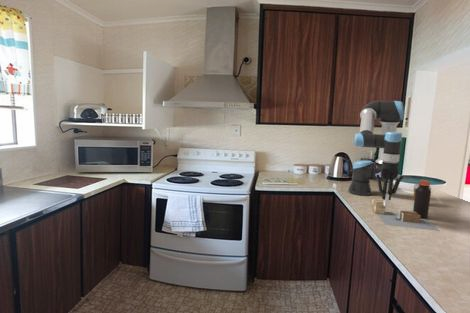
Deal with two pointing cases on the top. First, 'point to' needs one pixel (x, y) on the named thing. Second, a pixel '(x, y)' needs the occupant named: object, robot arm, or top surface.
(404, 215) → the walnut block
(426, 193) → the vinegar
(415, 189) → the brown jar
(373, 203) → the oak block
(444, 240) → the top surface
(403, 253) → the top surface
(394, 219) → the mat
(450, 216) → the top surface
